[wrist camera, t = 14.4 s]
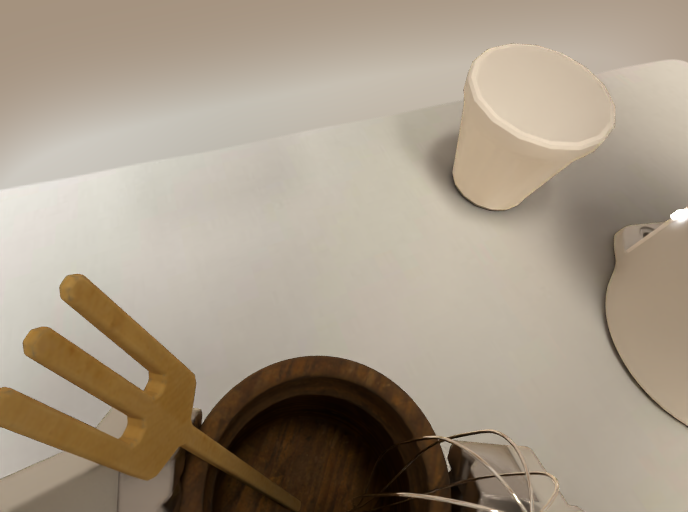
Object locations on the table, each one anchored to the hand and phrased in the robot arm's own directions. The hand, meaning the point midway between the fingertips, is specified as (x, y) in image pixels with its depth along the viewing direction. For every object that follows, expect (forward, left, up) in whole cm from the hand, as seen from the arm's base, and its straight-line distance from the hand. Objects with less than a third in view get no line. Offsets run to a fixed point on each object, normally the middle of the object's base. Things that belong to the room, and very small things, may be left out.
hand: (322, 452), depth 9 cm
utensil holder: (0, +1, -7) cm, 7 cm away
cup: (-22, -16, -19) cm, 33 cm away
